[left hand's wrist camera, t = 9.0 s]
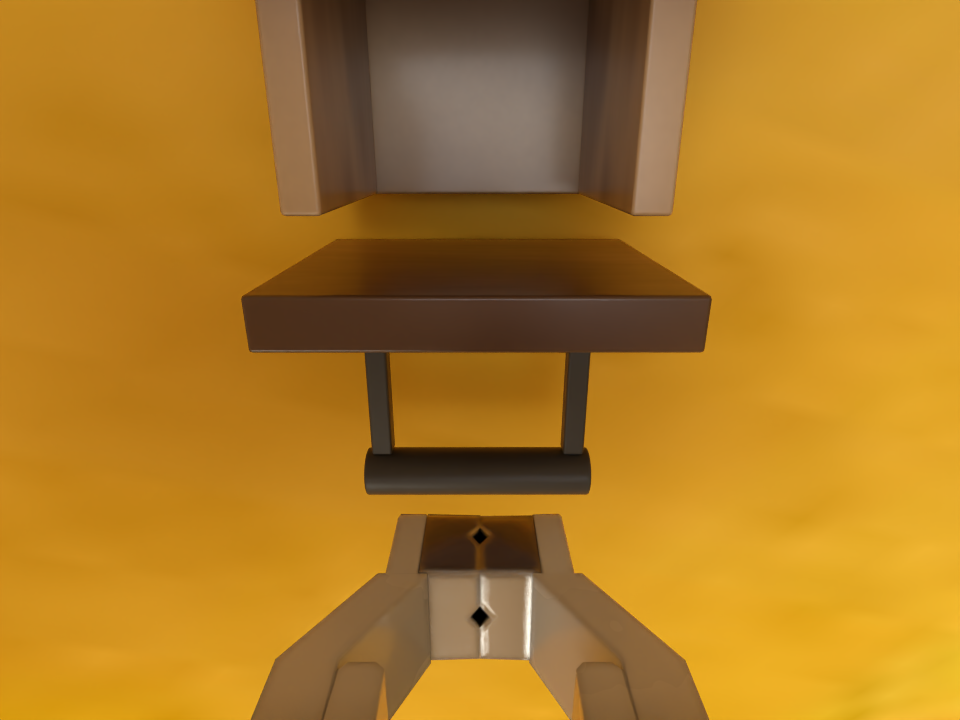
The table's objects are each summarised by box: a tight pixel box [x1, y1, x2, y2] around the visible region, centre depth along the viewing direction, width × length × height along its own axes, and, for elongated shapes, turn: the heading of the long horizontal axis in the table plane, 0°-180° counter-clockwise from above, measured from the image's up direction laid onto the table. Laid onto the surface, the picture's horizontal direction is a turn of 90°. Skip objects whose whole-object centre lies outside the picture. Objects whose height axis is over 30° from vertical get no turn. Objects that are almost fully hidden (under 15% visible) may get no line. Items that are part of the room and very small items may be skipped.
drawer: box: [241, 0, 712, 495], centre depth 14 cm, size 19×9×8 cm, turn 0°
